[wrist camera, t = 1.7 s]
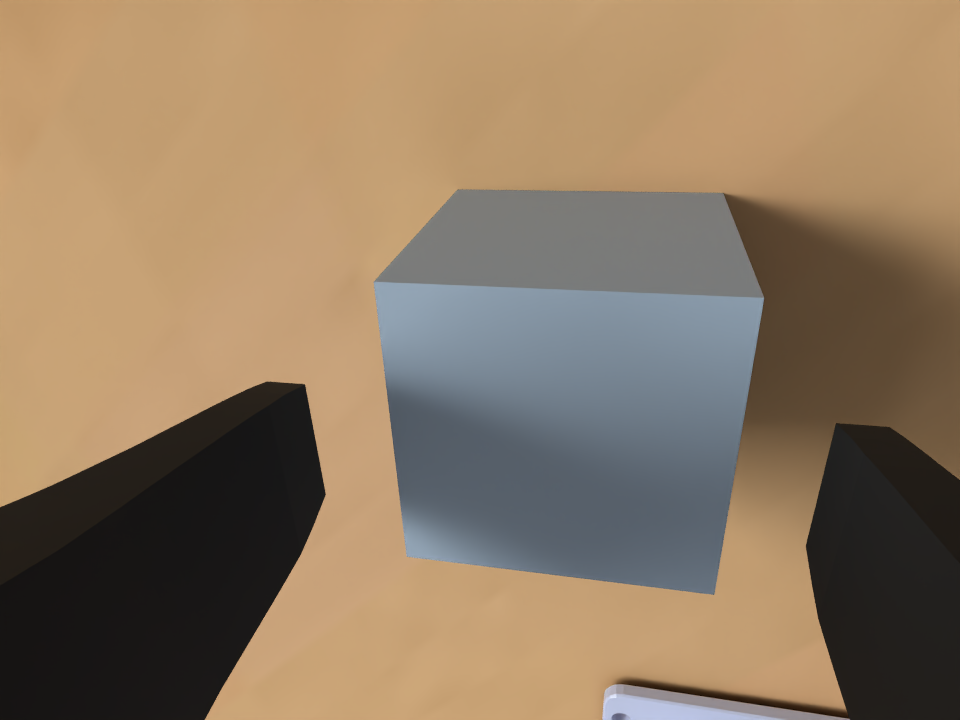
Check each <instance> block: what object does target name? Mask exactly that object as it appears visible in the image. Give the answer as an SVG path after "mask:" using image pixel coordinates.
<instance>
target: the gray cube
mask: <svg viewBox="0 0 960 720" xmlns="http://www.w3.org/2000/svg"><path fill="white" fill-rule="evenodd" d="M374 288H375V296H376V305H377V313H378V321H379V329H380V338H381V346H382V354H383V363H384V371H385V379H386V388H387V396H388V404H389V413H390V421H391V429H392V437H393V446H394V454H395V462H396V471H397V479H398V487H399V496H400V504H401V512H402V521H403V529H404V537H405V545H406V554H407V557H414V558H422V559H430V560H438V561H446V562H454V563H463V564H471V565H479V566H487V567H495V568H503V569H511V570H519V571H527V572H535V573H543V574H551V575H559V576H567V577H575V578H584V579H592V580H600V581H608V582H616V583H624V584H632V585H640V586H648V587H656V588H664V589H672V590H680V591H688V592H696V593H704V594H713V595H714V593H715V587H716V581H717V575H718V569H719V563H720V557H721V551H722V546H723V540H724V534H725V528H726V522H727V516H728V510H729V504H730V498H731V492H732V486H733V480H734V474H735V468H736V462H737V457H738V451H739V445H740V439H741V433H742V427H743V421H744V415H745V409H746V403H747V397H748V391H749V385H750V379H751V373H752V368H753V362H754V356H755V350H756V344H757V338H758V332H759V326H760V320H761V314H762V308H763V302H764V296H763V294H762V291H761V288H760V286H759V283H758V281H757V278H756V276H755V273H754V271H753V268H752V266H751V263H750V260H749V258H748V255H747V253H746V250H745V248H744V245H743V243H742V240H741V237H740V235H739V232H738V230H737V227H736V225H735V222H734V220H733V217H732V214H731V212H730V209H729V207H728V204H727V202H726V199H725V197H724V194H723V193H684V192H607V191H531V190H457V191H456V192H455V193H454V194H453V195H452V196H451V197H450V199H449V200H448V201H447V202H446V203H445V204H444V205H443V206H442V207H441V208H440V210H439V211H438V212H437V213H436V214H435V215H434V216H433V217H432V218H431V219H430V221H429V222H428V223H427V224H426V225H425V226H424V227H423V228H422V229H421V230H420V232H419V233H418V234H417V235H416V236H415V237H414V238H413V239H412V240H411V241H410V243H409V244H408V245H407V246H406V247H405V248H404V249H403V250H402V251H401V252H400V254H399V255H398V256H397V257H396V258H395V259H394V260H393V261H392V262H391V263H390V265H389V266H388V267H387V268H386V269H385V270H384V271H383V272H382V273H381V274H380V275H379V277H378V278H377V279H376V280H375V281H374Z"/></svg>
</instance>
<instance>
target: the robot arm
mask: <svg viewBox="0 0 960 720" xmlns="http://www.w3.org/2000/svg"><path fill="white" fill-rule="evenodd" d="M325 495H326V494H325V488H324V483H323V478H322V472H321V467H320V462H319V457H318V451H317V446H316V441H315V435H314V430H313V425H312V419H311V414H310V409H309V403H308V398H307V393H306V387H305V384H293V383H279V382H265V383H262V384H260V385H257V386H254V387H252V388H250V389H247V390H245V391H243V392H241V393H239V394H237V395H234V396H232V397H230V398H228V399H226V400H224V401H222V402H220V403H218V404H216V405H214V406H212V407H210V408H208V409H206V410H204V411H202V412H200V413H198V414H197V415H195V416H193V417H191V418H189V419H187V420H185V421H183V422H181V423H179V424H177V425H175V426H173V427H171V428H169V429H167V430H165V431H163V432H161V433H159V434H157V435H156V436H154V437H152V438H150V439H148V440H146V441H144V442H142V443H140V444H138V445H136V446H134V447H132V448H130V449H128V450H126V451H124V452H121V453H119V454H117V455H115V456H113V457H111V458H109V459H107V460H105V461H103V462H100V463H98V464H96V465H94V466H92V467H90V468H88V469H86V470H84V471H81V472H79V473H77V474H75V475H73V476H71V477H69V478H67V479H65V480H63V481H60V482H58V483H56V484H54V485H52V486H49V487H47V488H45V489H43V490H40V491H38V492H36V493H33V494H31V495H29V496H26V497H24V498H22V499H19V500H17V501H14V502H12V503H10V504H7V505H5V506H2V507H0V720H205V718H206V716H207V714H208V713H209V711H210V709H211V707H212V705H213V703H214V702H215V700H216V698H217V696H218V694H219V692H220V691H221V689H222V687H223V685H224V684H225V682H226V680H227V679H228V677H229V675H230V674H231V672H232V670H233V669H234V667H235V665H236V664H237V662H238V660H239V659H240V657H241V655H242V653H243V652H244V650H245V648H246V647H247V645H248V643H249V642H250V640H251V638H252V637H253V635H254V633H255V632H256V630H257V628H258V627H259V625H260V623H261V622H262V620H263V618H264V617H265V615H266V613H267V612H268V610H269V608H270V607H271V605H272V603H273V602H274V600H275V598H276V596H277V595H278V593H279V591H280V590H281V588H282V586H283V584H284V583H285V581H286V579H287V578H288V576H289V574H290V572H291V571H292V569H293V567H294V565H295V564H296V562H297V560H298V558H299V557H300V555H301V553H302V551H303V548H304V546H305V544H306V542H307V539H308V537H309V535H310V532H311V530H312V528H313V525H314V523H315V520H316V518H317V515H318V513H319V510H320V508H321V505H322V503H323V500H324V498H325ZM806 550H807V556H808V562H809V569H810V575H811V581H812V587H813V592H814V598H815V603H816V609H817V614H818V619H819V622H820V626H821V629H822V633H823V636H824V639H825V642H826V646H827V649H828V652H829V655H830V659H831V662H832V665H833V668H834V671H835V675H836V678H837V681H838V684H839V687H840V691H841V694H842V697H843V700H844V703H845V706H846V709H847V713H848V716H849V719H848V718H841V717H835V716H828V715H822V714H815V713H809V712H802V711H796V710H789V709H782V708H776V707H769V706H763V705H756V704H750V703H743V702H737V701H730V700H724V699H717V698H711V697H704V696H697V695H691V694H684V693H678V692H671V691H665V690H658V689H652V688H645V687H639V686H632V685H625V684H615V685H612V686H610V687H608V688H607V689H606V691H605V693H604V705H603V719H602V720H960V480H959V479H957V478H956V477H955V476H954V475H952V474H951V473H950V472H949V471H947V470H946V469H945V468H943V467H942V466H941V465H940V464H938V463H937V462H936V461H935V460H933V459H932V458H931V457H929V456H928V455H927V454H926V453H924V452H923V451H922V450H920V449H919V448H918V447H917V446H915V445H914V444H913V443H911V442H910V441H909V440H907V439H906V438H904V437H903V436H902V435H900V434H899V433H897V432H896V431H894V430H893V429H891V428H890V427H880V426H866V425H853V424H839V423H836V426H835V430H834V434H833V438H832V442H831V446H830V450H829V454H828V458H827V463H826V467H825V471H824V475H823V479H822V483H821V487H820V491H819V495H818V499H817V503H816V507H815V511H814V515H813V519H812V523H811V527H810V531H809V535H808V539H807V544H806Z"/></svg>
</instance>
